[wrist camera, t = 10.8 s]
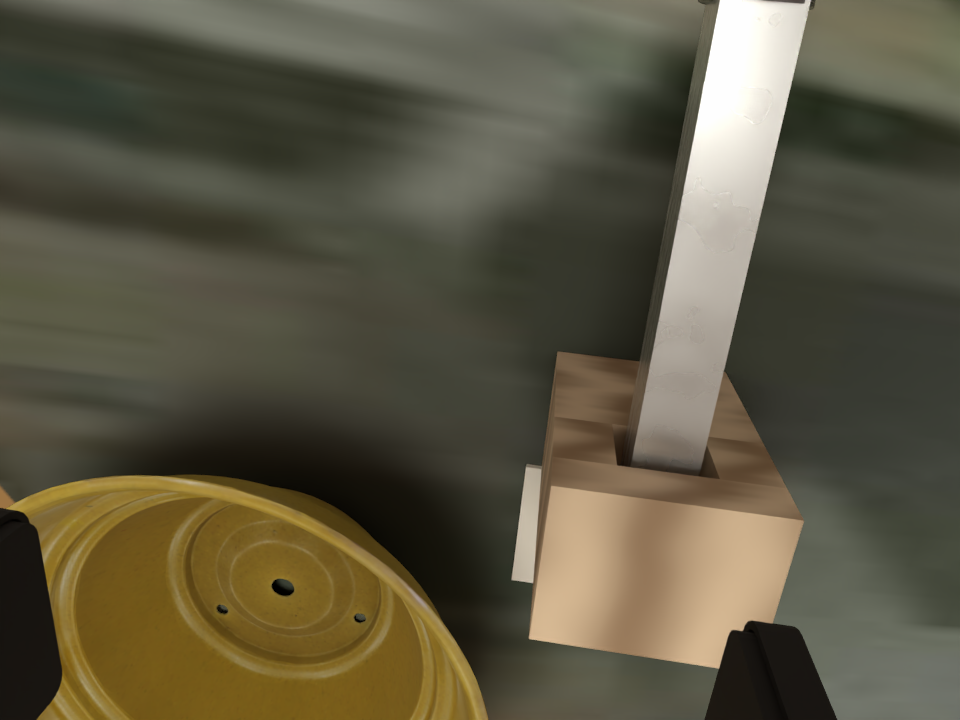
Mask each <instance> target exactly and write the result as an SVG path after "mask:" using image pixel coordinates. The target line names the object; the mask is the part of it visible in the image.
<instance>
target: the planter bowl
mask: <svg viewBox="0 0 960 720" xmlns="http://www.w3.org/2000/svg"><path fill="white" fill-rule="evenodd" d="M6 509H9V510H16V511H20V512H23V513H24V514H25V515H26V516H27V517H28V519H29V522H30V524H32V525H34V526H35V527H36V528H37V531H38V535H39V540H40V546H41V552H42V557H43V563H44V569H45V574H46V580H47V586H48V591H49V597H50V603H51V609H52V614H53V620H54V626H55V631H56V637H57V643H58V648H59V654H60V660H61V665H62V681H61V684H60V687H59V690H58V692H57V694H56V696H55V697H54V699H53V700H52V702H51V703H50V704H49V705H48V706H47V708H46V709H45V710H44V711H43V712H42V714H41V715H40V716H39V717H38V719H37V720H488V716H487V711H486V707H485V703H484V700H483V697H482V694H481V691H480V689H479V686H478V683H477V680H476V678H475V676H474V674H473V672H472V669H471V667H470V665H469V663H468V662H467V660H466V658H465V656H464V654H463V653H462V651H461V649H460V647H459V646H458V644H457V642H456V641H455V639H454V638H453V636H452V635H451V633H450V632H449V630H448V629H447V628H446V626H445V625H444V623H443V622H442V620H441V618H440V616H439V614H438V612H437V610H436V609H435V607H434V605H433V604H432V602H431V601H430V599H429V598H428V596H427V595H426V593H425V592H424V590H423V589H422V588H421V586H420V585H419V584H418V583H417V581H416V580H415V579H414V578H413V577H412V575H411V574H410V573H409V572H408V571H407V570H406V569H405V567H404V566H403V565H402V564H401V563H400V562H399V561H398V560H397V559H396V558H395V557H393V556H392V555H391V554H390V553H389V552H388V551H387V550H386V549H385V548H384V547H382V546H381V545H380V544H379V543H378V542H376V541H375V540H374V539H373V538H372V536H371V535H370V534H369V533H368V532H367V531H366V530H365V529H363V528H362V527H361V526H360V525H359V524H358V523H357V522H356V521H354V520H353V519H352V518H350V517H349V516H348V515H346V514H345V513H344V512H342V511H340V510H339V509H337V508H336V507H334V506H332V505H330V504H328V503H326V502H324V501H322V500H320V499H318V498H316V497H313V496H310V495H307V494H304V493H301V492H298V491H294V490H290V489H285V488H279V487H270V486H267V485H264V484H260V483H255V482H251V481H246V480H242V479H235V478H228V477H221V476H211V475H170V476H148V475H129V476H110V477H101V478H92V479H86V480H81V481H76V482H71V483H67V484H63V485H59V486H56V487H52V488H49V489H46V490H43V491H41V492H38V493H36V494H33V495H31V496H28V497H26V498H24V499H22V500H20V501H18V502H16V503H14V504H13V505H11V506H9V507H8V508H6ZM276 579H285V580H288V581H290V582H291V583H292V585H293V587H294V592H293V593H292V594H291V595H288V596H282V595H279V594H277V593H276V592H275V591H274V590H273V588H272V583H273V581H274V580H276ZM220 604H221V605H224V606H225V607H226V608H227V609H228V612H227V613H225V614H223V613H220V612H219V611H218V610H217V606H218V605H220ZM356 614H364V616H365V617H366V620H365V621H364V622H361V623H359V622H357V621H356V620H355V619H354V616H355V615H356Z"/></svg>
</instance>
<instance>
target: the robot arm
mask: <svg viewBox="0 0 960 720" xmlns="http://www.w3.org/2000/svg"><path fill="white" fill-rule="evenodd" d="M61 681H62V665H61V660H60V654H59V648H58V643H57V637H56V631H55V626H54V620H53V614H52V609H51V603H50V597H49V591H48V586H47V580H46V574H45V569H44V563H43V557H42V552H41V546H40V540H39V535H38V531H37V528H36V527H35V526H34V525H32V524H30V522H29V519H28V517H27V516H26V515H25V514H24V513H23V512H20V511H16V510H9V509H3V508H0V720H37V719H38V717H39V716H40V715H41V714H42V712H43V711H44V710H45V709H46V708H47V706H48V705H49V704H50V703H51V702H52V700H53V699H54V697H55V696H56V694H57V692H58V690H59V687H60V684H61ZM705 720H837V718H836V716H835V713H834V711H833V709H832V706H831V704H830V701H829V699H828V697H827V694H826V692H825V689H824V687H823V685H822V682H821V680H820V677H819V675H818V673H817V670H816V668H815V665H814V663H813V661H812V658H811V656H810V653H809V651H808V649H807V646H806V644H805V641H804V639H803V637H802V635H801V633H800V631H799V630H798V629H797V628H796V627H793V626H786V625H779V624H772V623H766V622H759V621H752V620H751V621H748V622H747V623H746V624H745V627H744V629H743V631H739V630H731V632H730V633H729V636H728V638H727V642H726V646H725V649H724V653H723V656H722V660H721V663H720V667H719V670H718V674H717V678H716V681H715V685H714V688H713V692H712V695H711V699H710V703H709V706H708V710H707V713H706V717H705Z"/></svg>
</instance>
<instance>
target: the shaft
mask: <svg viewBox="0 0 960 720" xmlns="http://www.w3.org/2000/svg"><path fill="white" fill-rule="evenodd" d="M815 1H816V0H698V2H700V3H702V4H706V6H705V11H704V16H703V22H702V27H701V33H700V38H699V43H698V49H697V54H696V60H695V65H694V70H693V76H692V81H691V87H690V92H689V97H688V103H687V108H686V113H685V119H684V124H683V130H682V135H681V140H680V146H679V151H678V157H677V162H676V167H675V173H674V178H673V184H672V189H671V194H670V200H669V205H668V210H667V216H666V221H665V227H664V232H663V237H662V243H661V248H660V254H659V259H658V264H657V270H656V275H655V281H654V286H653V291H652V297H651V302H650V308H649V313H648V318H647V324H646V329H645V334H644V340H643V345H642V351H641V356H640V361H639V367H638V372H637V378H636V383H635V388H634V394H633V399H632V405H631V410H630V415H629V421H628V426H627V431H626V437H625V442H624V448H623V453H622V458H621V464H620V466H625V467H632V468H640V469H647V470H655V471H662V472H669V473H677V474H684V475H692V476H699V474H700V470H701V466H702V462H703V457H704V453H705V449H706V445H707V440H708V436H709V432H710V428H711V423H712V419H713V415H714V411H715V406H716V402H717V398H718V394H719V389H720V385H721V381H722V377H723V372H724V368H725V364H726V360H727V355H728V351H729V347H730V343H731V338H732V334H733V330H734V326H735V321H736V317H737V313H738V309H739V304H740V300H741V296H742V291H743V287H744V283H745V279H746V274H747V270H748V266H749V262H750V257H751V253H752V249H753V245H754V240H755V236H756V232H757V228H758V223H759V219H760V215H761V211H762V206H763V202H764V198H765V194H766V189H767V185H768V181H769V177H770V172H771V168H772V164H773V160H774V155H775V151H776V147H777V143H778V138H779V134H780V130H781V126H782V121H783V117H784V113H785V109H786V104H787V100H788V96H789V92H790V87H791V83H792V79H793V75H794V70H795V66H796V62H797V57H798V53H799V49H800V45H801V40H802V36H803V32H804V28H805V23H806V19H807V15H808V11H809V10H811V9H813V8H814V5H815Z"/></svg>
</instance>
